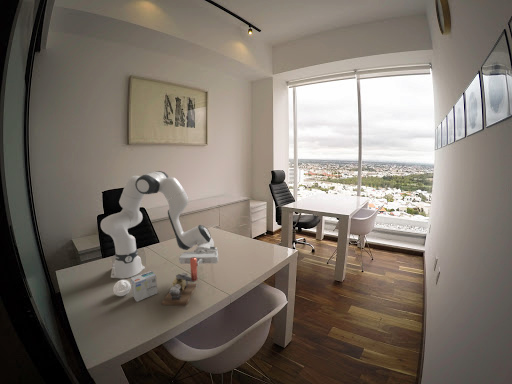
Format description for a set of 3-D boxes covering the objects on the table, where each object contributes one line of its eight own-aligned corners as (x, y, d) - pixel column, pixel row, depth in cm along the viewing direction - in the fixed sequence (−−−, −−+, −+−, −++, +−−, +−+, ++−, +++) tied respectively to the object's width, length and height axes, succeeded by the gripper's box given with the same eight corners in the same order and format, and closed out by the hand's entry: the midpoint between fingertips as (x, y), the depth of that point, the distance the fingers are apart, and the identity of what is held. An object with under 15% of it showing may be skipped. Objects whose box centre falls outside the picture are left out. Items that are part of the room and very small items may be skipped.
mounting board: (174, 286, 127) (174, 283, 127) (196, 286, 127) (195, 284, 127) (162, 304, 111) (161, 302, 111) (186, 305, 111) (186, 302, 111)
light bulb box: (153, 288, 126) (151, 270, 124) (158, 293, 121) (156, 274, 119) (132, 296, 118) (130, 277, 117) (136, 302, 114) (134, 282, 112)
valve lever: (179, 277, 120) (177, 253, 118) (199, 282, 114) (197, 257, 112) (175, 279, 117) (173, 255, 115) (195, 285, 112) (193, 260, 110)
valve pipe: (180, 284, 126) (179, 272, 125) (188, 284, 126) (188, 272, 125) (170, 300, 112) (169, 287, 111) (179, 300, 112) (178, 287, 111)
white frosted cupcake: (114, 301, 115) (113, 286, 114) (113, 294, 121) (111, 280, 120) (132, 295, 119) (131, 281, 118) (130, 288, 125) (129, 275, 124)
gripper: (183, 247, 127) (174, 259, 113) (220, 247, 127) (215, 258, 113) (183, 258, 128) (175, 271, 114) (220, 258, 128) (215, 270, 114)
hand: (195, 264), depth 114 cm, fingers closed, pressing on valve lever
